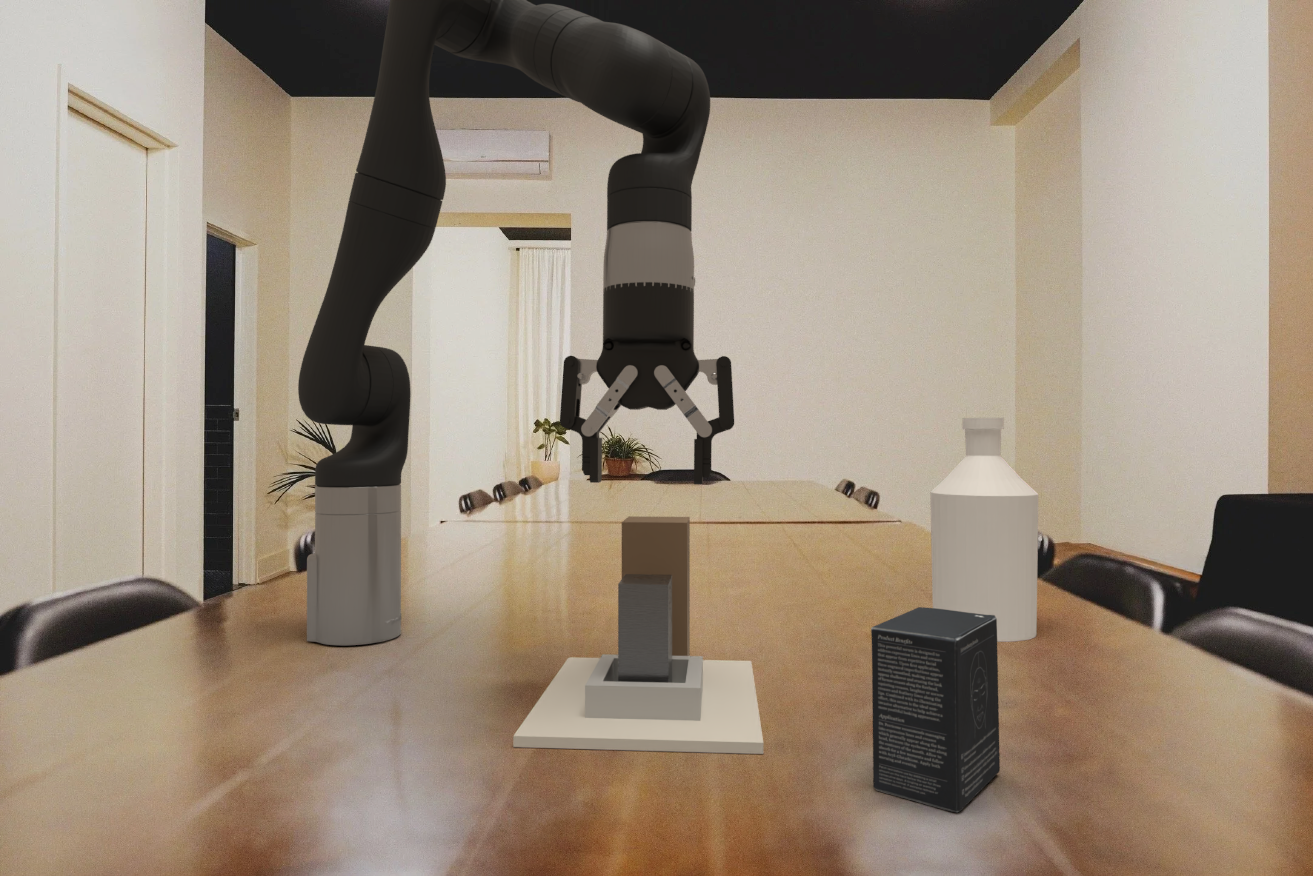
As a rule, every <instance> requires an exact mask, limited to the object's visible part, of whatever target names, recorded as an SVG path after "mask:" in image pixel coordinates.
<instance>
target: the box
mask: <svg viewBox="0 0 1313 876" xmlns="http://www.w3.org/2000/svg"><path fill="white" fill-rule="evenodd" d="M870 629H871V631H870V634H871V635H870V636H871V676H872V677H871V678H872V679H871V683H872V684H871V685H872V689H871V691H872V694H871V696H872V704H871V705H872V762H873V763H872V764H873V765H872V770H873V772H872V774H873V780H872V781H873V784H872V785H873V789H875V791H878V792H880V793H884V794H886V795H890V796H895V797H899V798H902V799H906V800H909V801H912V802H916V803H918V804H919V803H920V804H923V805H927V806H929V807H934V808H937V809H940V810H944V811H948V812H951V813H952V812H954V813H959V812H960V811H963V809H964V808H965V807H966V806H967V804H969V803H970V802H971V801H972V800H973V799H974V798H975V797H976V796H977V795H978V794H979V793H980V791H982V790H983V788H985V786H987V785H988V784H989V783H990V782H991V781H992V780H993V778H995V777H996V776H997V775H998V773H1000V770H1001V766H1000V765H1001V762H1000V761H1001V760H1000V759H1001V758H1000V755H1001V754H1000V719H999V716H1000V714H999V708H1000V707H999V668H998V667H999V665H998V664H999V663H998V657H999V655H998V642H997V618H996V617H995V615H984V614H976V613H967V612H960V611H952V610H945V609H936V608H933V607H923V606H920V607H916V608H913V609H911V610H909V611H907V612H905V613H901V614H900V615H898V616H895V617H892V618H891V619H887V620H886V621H883V622H882V623H879V624H876V625H874V626H872V627H871V628H870Z"/></svg>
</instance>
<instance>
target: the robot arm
mask: <svg viewBox="0 0 1313 876" xmlns="http://www.w3.org/2000/svg"><path fill="white" fill-rule="evenodd" d="M386 18H387V19H386V26H385V32H384V39H383V45H382V51H381V58H380V65H379V72H378V76H377V77H378V78H377V84H376V88H375V93H374V98H373V102H372V107H371V111H370V116H369V121H368V125H367V129H366V133H365V136H364V137H365V138H364V141H363V144H362V149H361V153H360V156H359V160H358V162H357V166H356V168H355V171H356V172H355V173H354V176H353V182H352V187H351V190H350V194H349V197H348V201H347V202H348V203H347V207H346V208H347V209H346V213H345V218H344V223H343V227H342V232H341V235H340V240H339V244H338V247H337V252H336V256H335V259H334V263H333V267H332V271H331V274H330V278H329V281H328V284H327V287H326V291H325V294H324V297H323V299H322V302H321V305H320V308H319V312H318V313H317V316H316V319H315V322H314V325H313V328H312V331H311V334H310V336H309V340H308V343H307V345H306V349H305V351H304V354H303V356H302V361H301V366H300V369H299V376H298V383H297V386H298V388H297V389H298V391H297V392H298V400H299V405H300V407H301V410H302V412H303V414H304V415H305V416H306V417H307V418H308V419H309V420H310V421H312V422H315V423H317V424H322V425H333V426H351V427H352V428H351V434H350V439H349V441H348V442H347V444H346V445H344V446H343V447H342V448H341V449H339V450H338V451H336V452H335V453H333V454H331V455H328V456H325V457H324V458H321V459H320V460H319V461H318V462H317V463H316V465H315V469H314V553H311V554H309V555H308V556H307V558H306V642H315V643H318V644H323V645H327V646H329V645H330V646H356V645H357V646H359V645H360V646H361V645H368V644H369V645H370V644H375V643H382V642H386V641H389V640H392V639H395V638H397V637H399V636H401V633H402V628H401V627H402V472H403V469H404V465H405V463H406V459H407V457H408V450H409V448H408V447H409V432H410V416H411V396H412V395H411V393H412V392H411V391H412V390H411V381H410V374H409V370H408V366H407V364H406V362H405V360H404V359H403V357H402V356H401V355H400V354H399V353H398V352H397V351H395V350H393V349H391V348H387V347H383V346H374V345H367V344H365V343H366V340H367V337H368V334H369V331H370V327H371V325H372V321H373V319H374V317H375V315H376V313H377V311H378V309H379V307H380V305H381V304H382V303H383V301H384V300H385V298H386V297H387V296H388V294H390V293H391V291H392V290H393V289H394V288H395V287H396V286H397V284H398V283H400V281H401V280H402V279H403V278H404V277H405V276H406V275H407V274H409V272H410V271H411V270H412V269H413V267H415V265H416V264H417V263H418V262H419V261H420V259H421V258H422V257H423V256H424V254H425V253H426V251H427V250H428V249H429V246H430V245H431V243H432V241H433V238H434V234H435V231H436V228H437V225H438V220H439V217H440V212H441V208H442V206H443V200H444V198H445V193H446V188H447V187H446V186H447V177H446V168H445V163H444V158H443V154H442V149H441V145H440V140H439V138H438V133H437V129H436V126H435V121H434V117H433V113H432V112H433V111H432V108H431V101H430V74H431V67H432V65H431V64H432V57H433V55H434V54H433V53H434V48H435V46H437V47H439V48H441V49H443V50H445V51H447V52H448V53H451V54H452V55H455V56H457V57H459V58H464V59H469V60H474V61H479V62H484V63H485V62H486V63H493V64H497V65H505V66H507V67H512V68H513V69H517V70H519V71H521V72H522V73H524V74H525V75H526V76H527V77H528V78H530V79H532V80H533V81H534V82H536V83H538V84H540V85H541V86H543V87H545V88H547V89H549V90H551V91H554V92H555V93H557V94H559V95H562V96H564V97H565V98H568V99H569V100H572V101H575V102H577V103H580V104H582V105H583V106H584V107H586V108H588V109H590V110H592V111H593V112H595V113H597V114H598V115H600V116H601V117H604V118H606V119H608V120H610V121H612V122H615V123H616V124H618V125H622V126H624V127H626V128H628V129H631V130H633V131H635V132H637V133H640V134H642V148H641V153H640V152H639V153H638V152H637V153H632V154H627V155H624V156H623V157H621V158H618V159H617V160H616V161H614V163H613V164H612V166H611V167H610V168H609V173H608V177H607V187H606V199H607V201H606V204H607V205H606V208H607V209H606V238H605V240H606V241H605V246H604V252H603V253H604V255H603V267H602V268H603V274H602V277H603V280H602V281H603V284H602V286H603V287H602V288H603V290H602V291H603V293H602V298H603V299H602V301H603V302H602V349H601V353H600V355H599V358H597V359H589V358H588V359H587V358H578V357H576V356H574V355H568V356H566V357H565V359H563V368H562V381H561V382H562V384H561V398H560V414H559V425H560V426H561V427H562V428H564V429H567V430H569V431H572V432H576V433H577V434H579V436H580V437H581V442H582V443H581V447H582V448H581V470H582V473H583V476H589V483H595V484H598V483H599V484H600V483H601V482H602V476H603V474H602V473H603V472H602V471H603V469H602V468H603V466H602V465H603V438H602V437H600V433H601V431H602V430H603V429H604V428H605V426H606V425H607V423H608V422H610V420H611V418H613V416H614V415H616V413H617V412H618V410H619V409H620V408H621V407H623V408H626V409H628V410H637V411H638V410H639V411H640V410H644V409H647V408H651V409H653V410H654V409H655V410H657V411H658V410H659V411H660V410H661V411H664V410H665V411H666V410H669V409H671V408H673V407H675V406H677V408H678V409H679V410H680V412H681V413H682V415H683V416H684V417H685V418H686V420H687V421H688V422H689V424H690V425H691V426H692V427H693V429H694V430H695V432H696V438H694V439H693V446H694V447H693V485H703V484H704V478H709V477H710V475H711V472H712V446H713V445H712V442H713V438H714V437H715V436H716V435H718V434H720V433H723V432H726V431H729V430H731V429H733V427H734V425H735V411H734V409H735V408H734V393H733V392H734V390H733V388H734V387H733V375H732V374H733V372H732V361H731V359H730V358H729V357H728V356H726V355H725V356H723V355H721V356H720V357H718V358H712V359H711V358H710V359H709V358H707V359H698V358H697V356H696V354H695V347H694V340H695V339H694V337H695V336H694V332H695V330H694V329H695V328H694V327H695V326H694V325H695V322H694V320H695V286H696V276H695V256H694V254H695V253H694V247H693V240H692V239H693V237H692V226H693V225H692V221H693V220H692V214H693V213H692V211H693V210H692V207H693V206H692V205H693V203H692V199H693V197H692V195H693V194H692V184H693V180H694V177H695V174H696V171H697V167H698V163H699V161H700V156H701V150H702V147H703V144H704V140H705V135H706V132H707V128H708V124H709V121H710V120H709V119H710V116H711V115H710V113H711V94H710V88H709V84H708V80H707V77H706V74H705V73H704V71H703V69H702V68H701V66H700V65H699V64H698V63H697V62H695V60H693V59H691V57H688V56H686V55H685V54H683V53H681V52H679V51H678V50H676V49H674V48H673V47H671V46H669V45H668V44H666V43H663V42H662V41H660V40H659V39H657V38H655V37H653V36H652V35H650V34H647V33H645V32H643V31H640V30H638V29H636V28H633V27H631V26H628V25H625V24H621V23H616V22H608V21H603V20H601V19H599V18H597V17H594V16H591V15H589V14H587V13H584V12H581V11H579V10H576V9H574V8H570V7H567V6H564V5H559V4H554V3H541V4H537V5H536V4H534V3H532V2H530V1H528V0H389V5H388V11H387V17H386ZM595 373H597V374H598V377H600V379H601V380H602V381H603V383H604V384H605V385H606V387H607V389H608V390H607V391H606V392H605V394H604V395H603V396H602V398H601V399H600V400H599V402H598V403H597V404H596V406H595V407H594V409H593V411H592V412H591V413H590V414H589V416H588V417H587V419H585V418H584V417H581V415H580V414H581V401H582V400H581V398H582V389H583V387H582V386H583V385H587V384H588V383H589V382H590V380H591V377H592V375H593V374H595ZM699 373H703V374H704V375H706V378H707V379H706V380H707V381H708V383H709V384H710V385H713V386H717V401H718V402H717V403H718V406H717V407H718V417H716V418H713V419H710V420H707V419H706V417H705V416H704V415H703V413H702V412H701V411H700V410H699V408H698V407H697V405H696V404H695V403H694V401H692V398H691V397H690V396H689V395H688V393H687V392H686V391H687V390H688V389H689V387H690V386H691V385H692V383H693V382H694V380H695V379H696V378H697V377H698V375H699Z"/></svg>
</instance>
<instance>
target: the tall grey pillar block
mask: <svg viewBox="0 0 1313 876" xmlns="http://www.w3.org/2000/svg"><path fill="white" fill-rule="evenodd" d="M617 589H618V591H617V595H618V596H617V598H618V599H617V601H618V602H617V604H618V605H617V623H618V625H617V627H618V628H617V632H618V633H617V635H618V636H617V638H618V639H617V641H618V642H617V647H618V649H617V655H618V682H661V683H672V575H662V574H625V575H624V577H623V578H622V577H621V579H620V581H619V582H618V584H617Z"/></svg>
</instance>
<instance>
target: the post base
mask: <svg viewBox="0 0 1313 876" xmlns="http://www.w3.org/2000/svg"><path fill="white" fill-rule="evenodd" d="M690 523H691V522H690V516H635V515H634V516H631V515H629V516H627V517H626V518H625V519H624V520H622V521H621V579H622V578H623V577H624V575H625V574H662V575H672V683H661V682H618V654H611V653H610V654H606V653H605V654H603V653H602V654H601V656H600V657H574V656H573V657H572V656H570V657H568V658H566V660H565V662H564V663H563V665H562V666H561V667H560V669H559V671H558V672H557V674H556V675H555V676H554V677H553V679H552V680H551V682H550V683H549V685H548V686H547V687H546V688H545V690H544V692H543V693H542V695H541V696H540V698H539V699H538V700H537V701H536V703H535V705H534V706H533V708H532V709H531V710H530V711H529V713H528V714H527V716H525V719H524V720H523V722H522V723H521V724H520V726H519V728H518V729H517V730H516V732H515V733H514V734H513V739H512V741H513V744H512V747H513V748H531V749H535V748H537V749H541V748H542V749H568V750H569V749H570V750H571V749H572V750H574V749H576V750H602V751H603V750H606V751H607V750H608V751H609V750H610V751H613V750H614V751H644V752H646V751H647V752H676V753H677V752H679V753H680V752H682V753H686V752H687V753H711V754H712V753H713V754H716V753H717V754H748V755H749V754H750V755H751V754H752V755H754V754H755V755H764V739H763V738H764V737H763V730H762V726H761V725H762V723H761V718H760V711H759V704H758V697H757V691H756V685H755V677H754V670H753V665H752V664H753V662H752V660H731V659H730V660H727V659H726V660H724V659H723V660H722V659H721V660H719V659H717V660H716V659H704V656H703V655H702V656H701V655H690V654H691V652H690V651H691V650H690V649H691V648H690V644H691V643H690V641H691V638H690V636H691V635H690V634H691V630H690V628H691V627H690V621H691V620H690V619H691V618H690V617H691V616H690V614H691V613H690V607H691V605H690V604H691V603H690V602H691V600H690V599H691V598H690V597H691V593H690V592H691V591H690V590H691V589H690V586H691V585H690V583H691V582H690V577H691V576H690V574H691V573H690V571H691V570H690V568H691V567H690V565H691V563H690V561H691V560H690V559H691V558H690V554H691V553H690V552H691V551H690V550H691V549H690V546H691V545H690V543H691V540H690V534H691V533H690V531H691V530H690V528H691V527H690Z"/></svg>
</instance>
